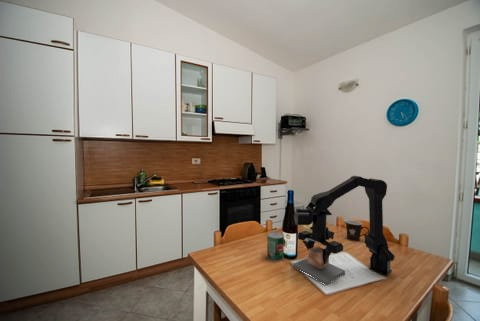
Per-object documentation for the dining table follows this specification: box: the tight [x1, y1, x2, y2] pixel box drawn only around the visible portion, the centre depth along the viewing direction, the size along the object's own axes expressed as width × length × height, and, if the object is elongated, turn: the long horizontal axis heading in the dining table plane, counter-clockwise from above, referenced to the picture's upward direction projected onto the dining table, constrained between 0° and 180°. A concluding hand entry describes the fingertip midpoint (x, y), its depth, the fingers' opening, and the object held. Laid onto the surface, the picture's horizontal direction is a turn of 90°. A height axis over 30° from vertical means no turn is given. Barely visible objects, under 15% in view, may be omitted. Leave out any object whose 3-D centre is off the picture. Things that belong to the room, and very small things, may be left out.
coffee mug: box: [345, 219, 370, 242], centre depth 125 cm, size 12×9×10 cm
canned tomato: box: [266, 231, 285, 262], centre depth 103 cm, size 8×8×11 cm
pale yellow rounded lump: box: [301, 224, 312, 233], centre depth 127 cm, size 11×12×11 cm
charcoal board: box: [292, 257, 346, 286], centre depth 91 cm, size 16×14×2 cm
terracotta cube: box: [307, 245, 330, 269], centre depth 91 cm, size 6×6×6 cm
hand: (318, 260), depth 91 cm, fingers closed on terracotta cube, 6 cm apart
